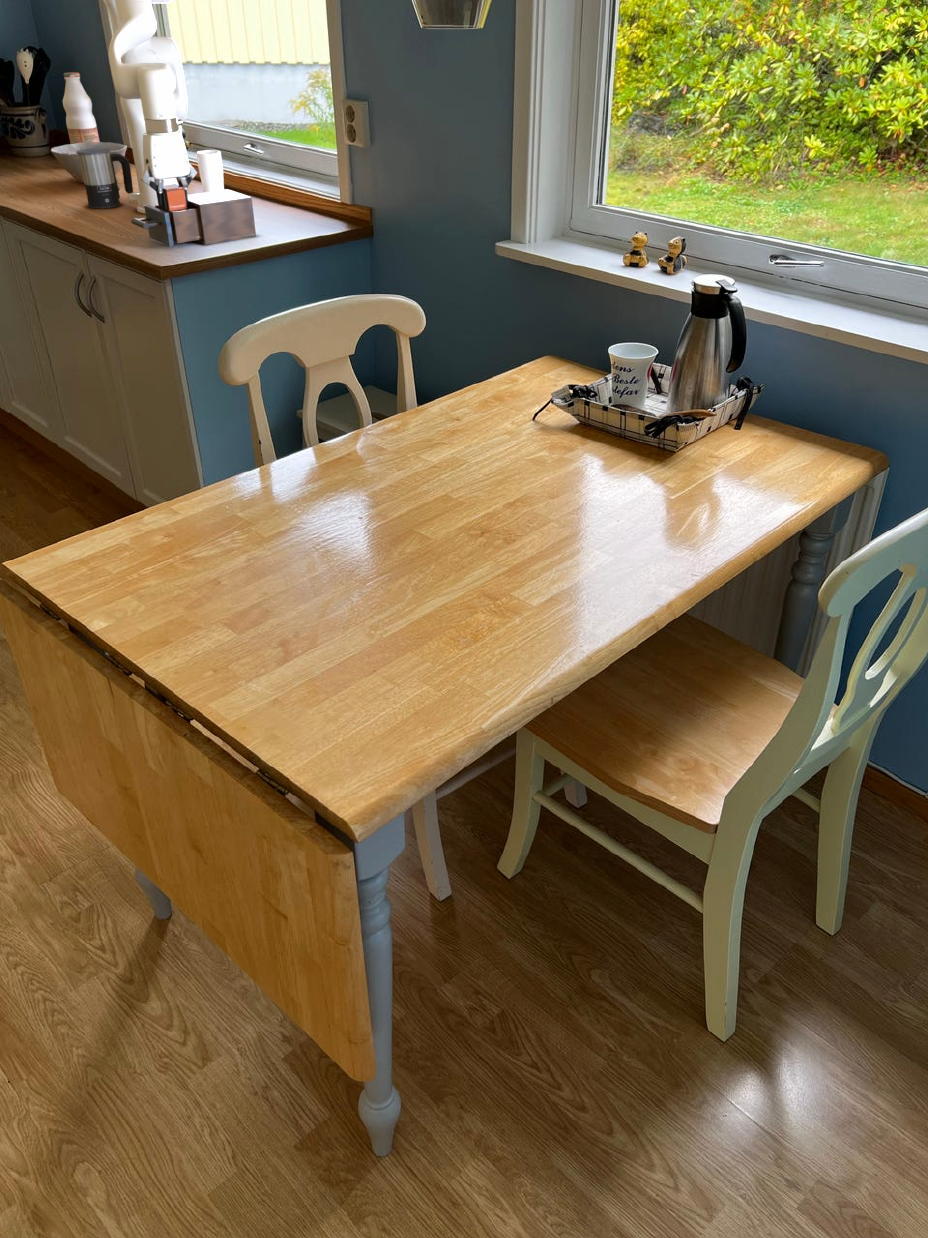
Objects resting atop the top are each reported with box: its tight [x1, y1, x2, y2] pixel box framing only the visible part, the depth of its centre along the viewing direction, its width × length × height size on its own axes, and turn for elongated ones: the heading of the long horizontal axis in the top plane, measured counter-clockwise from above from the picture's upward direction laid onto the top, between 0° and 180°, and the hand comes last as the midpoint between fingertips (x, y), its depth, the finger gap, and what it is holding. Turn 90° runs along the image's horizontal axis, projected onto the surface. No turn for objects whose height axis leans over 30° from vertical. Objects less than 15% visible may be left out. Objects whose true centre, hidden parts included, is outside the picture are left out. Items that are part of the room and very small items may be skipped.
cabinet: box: [187, 189, 257, 246], centre depth 250 cm, size 15×13×10 cm
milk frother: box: [76, 148, 134, 209], centre depth 280 cm, size 14×16×15 cm
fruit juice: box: [62, 71, 100, 144], centre depth 324 cm, size 9×9×28 cm
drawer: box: [130, 203, 203, 248], centre depth 243 cm, size 18×11×8 cm, turn 130°
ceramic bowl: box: [50, 141, 128, 183], centre depth 307 cm, size 22×23×10 cm
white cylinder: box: [196, 149, 225, 193], centre depth 274 cm, size 7×7×15 cm
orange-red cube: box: [163, 184, 187, 211], centre depth 240 cm, size 5×5×5 cm
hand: (173, 206), depth 242 cm, fingers closed on orange-red cube, 4 cm apart
